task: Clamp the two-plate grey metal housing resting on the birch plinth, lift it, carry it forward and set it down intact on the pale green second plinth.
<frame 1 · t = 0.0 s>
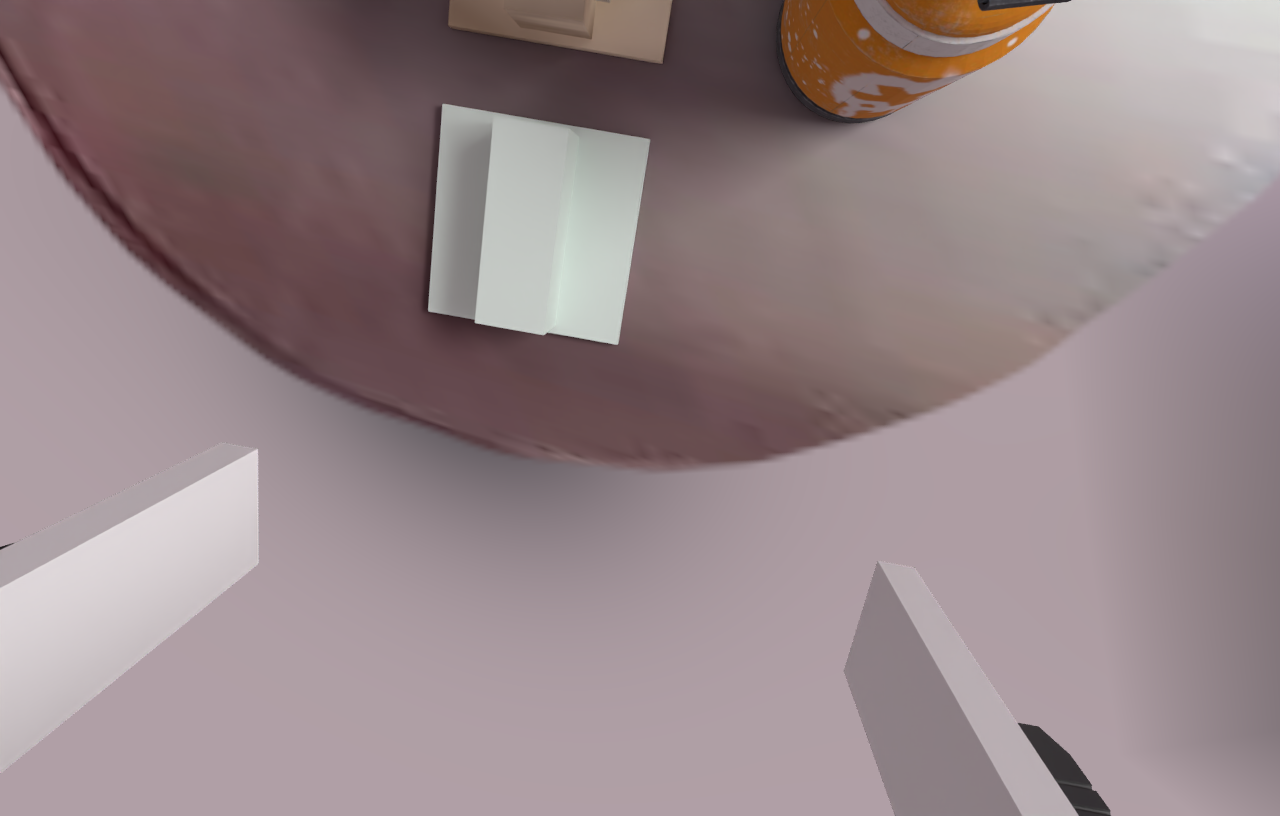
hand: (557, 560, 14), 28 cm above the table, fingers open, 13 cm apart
stand b: (535, 229, 39), on the table
canister: (857, 14, 35), on the table
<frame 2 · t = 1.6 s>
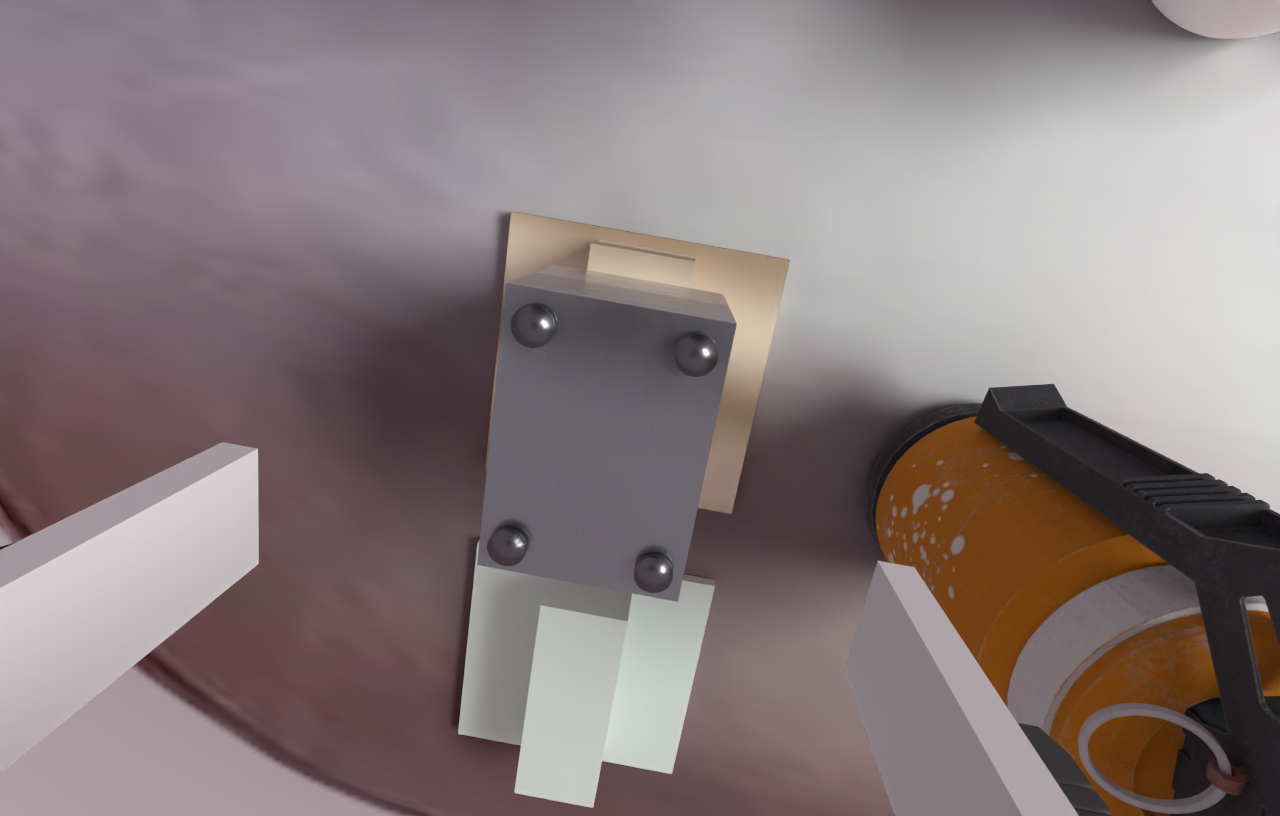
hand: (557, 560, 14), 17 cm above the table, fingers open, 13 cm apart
stand b: (581, 656, 34), on the table
housing: (620, 391, 26), point 4 cm above the table, touching stand a
canister: (958, 468, 30), on the table
stand a: (628, 368, 30), on the table
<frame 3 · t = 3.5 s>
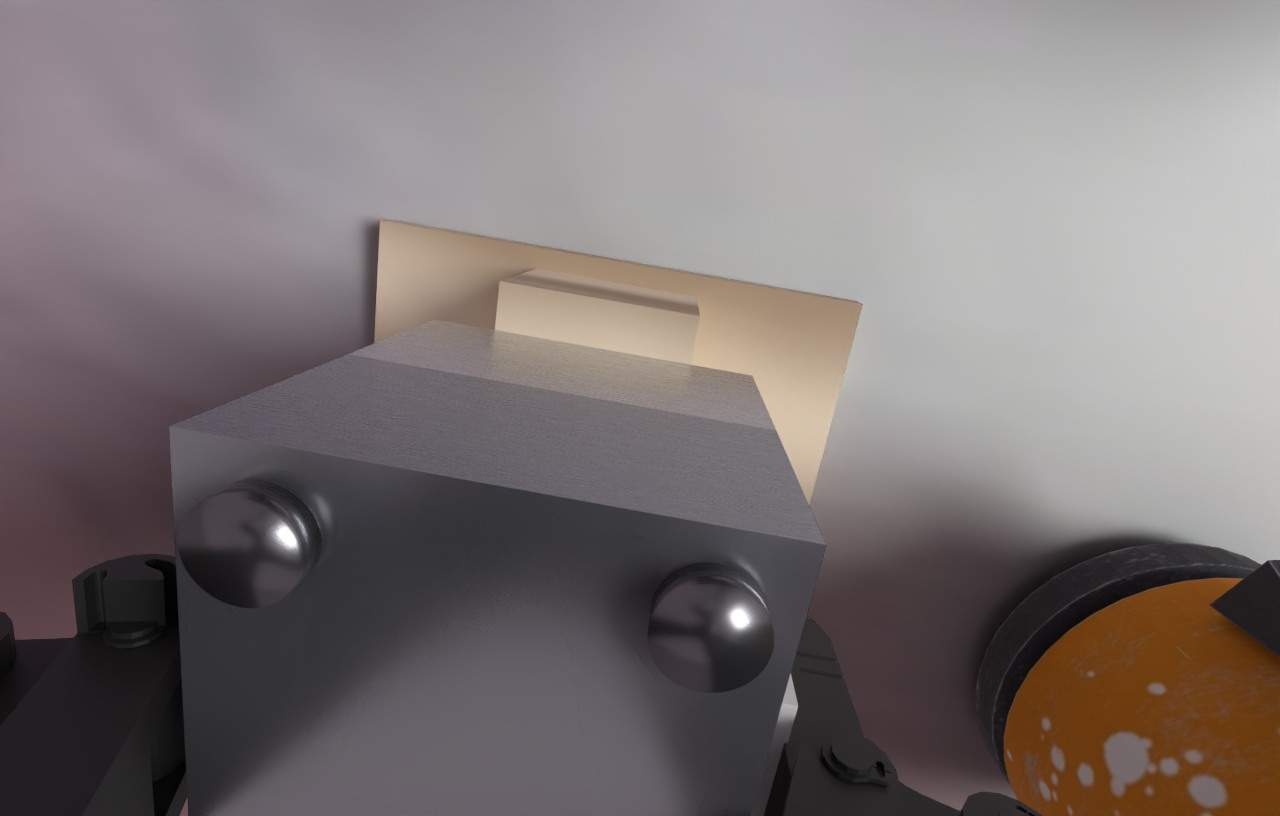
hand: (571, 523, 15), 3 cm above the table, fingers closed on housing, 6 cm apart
housing: (563, 545, 14), point 4 cm above the table, touching gripper, stand a
canister: (1125, 634, 19), on the table
stand a: (588, 476, 18), on the table
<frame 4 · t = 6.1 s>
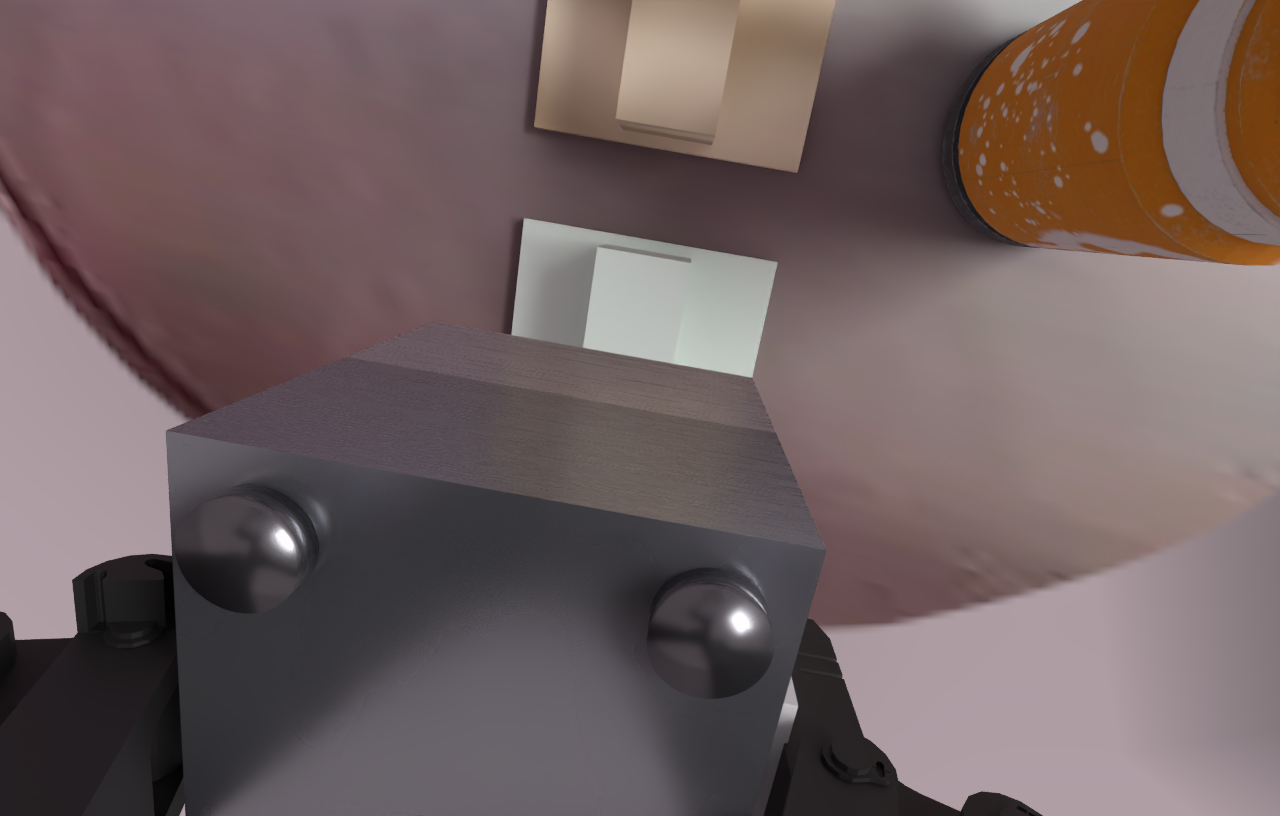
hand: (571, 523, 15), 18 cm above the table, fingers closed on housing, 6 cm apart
stand b: (630, 361, 32), on the table
housing: (563, 547, 14), point 19 cm above the table, touching gripper
canister: (1041, 116, 28), on the table
stand a: (690, 3, 28), on the table
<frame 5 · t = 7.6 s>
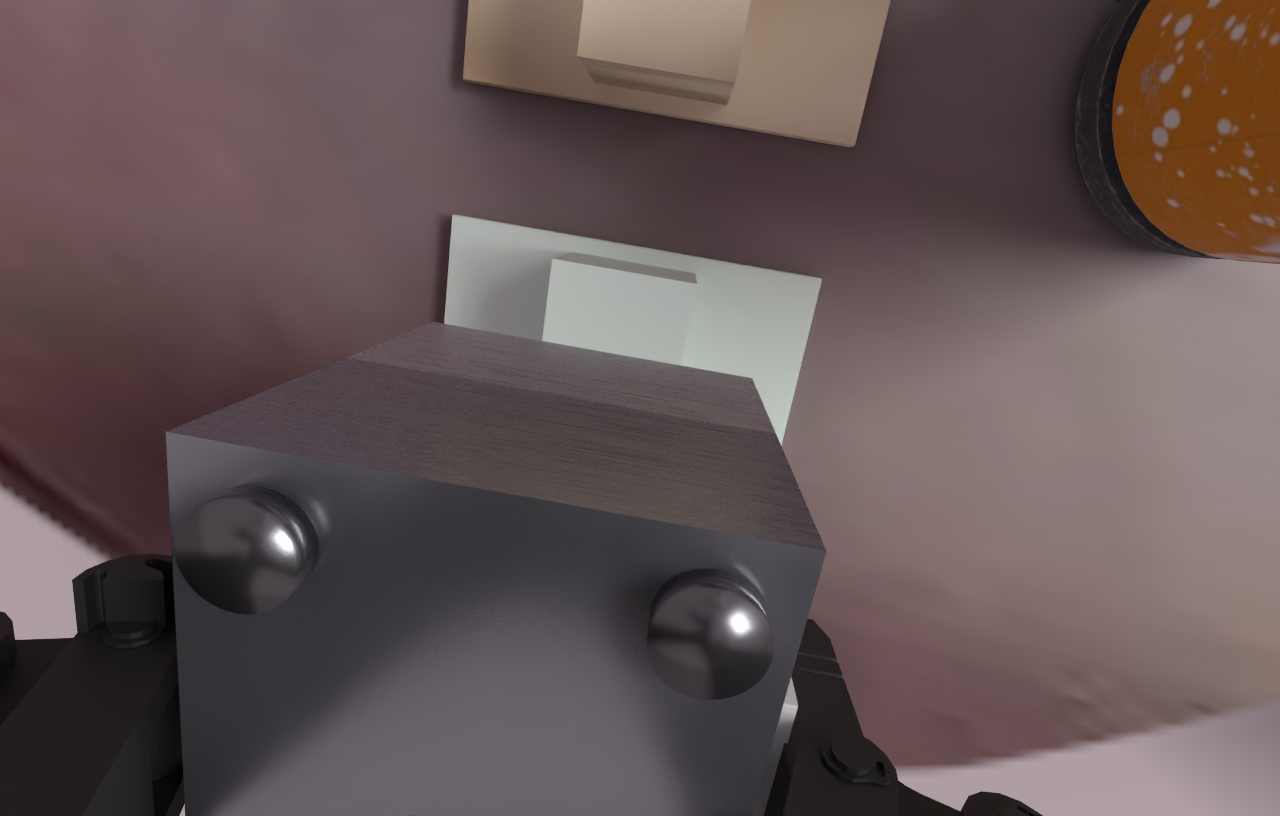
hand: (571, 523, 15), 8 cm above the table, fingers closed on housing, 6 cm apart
stand b: (610, 417, 23), on the table
housing: (562, 547, 14), point 9 cm above the table, touching gripper
canister: (1223, 60, 19), on the table
when the fingers open (4 cm above the table, at t = 8.8 s): housing drops 1 cm, resting on stand b.
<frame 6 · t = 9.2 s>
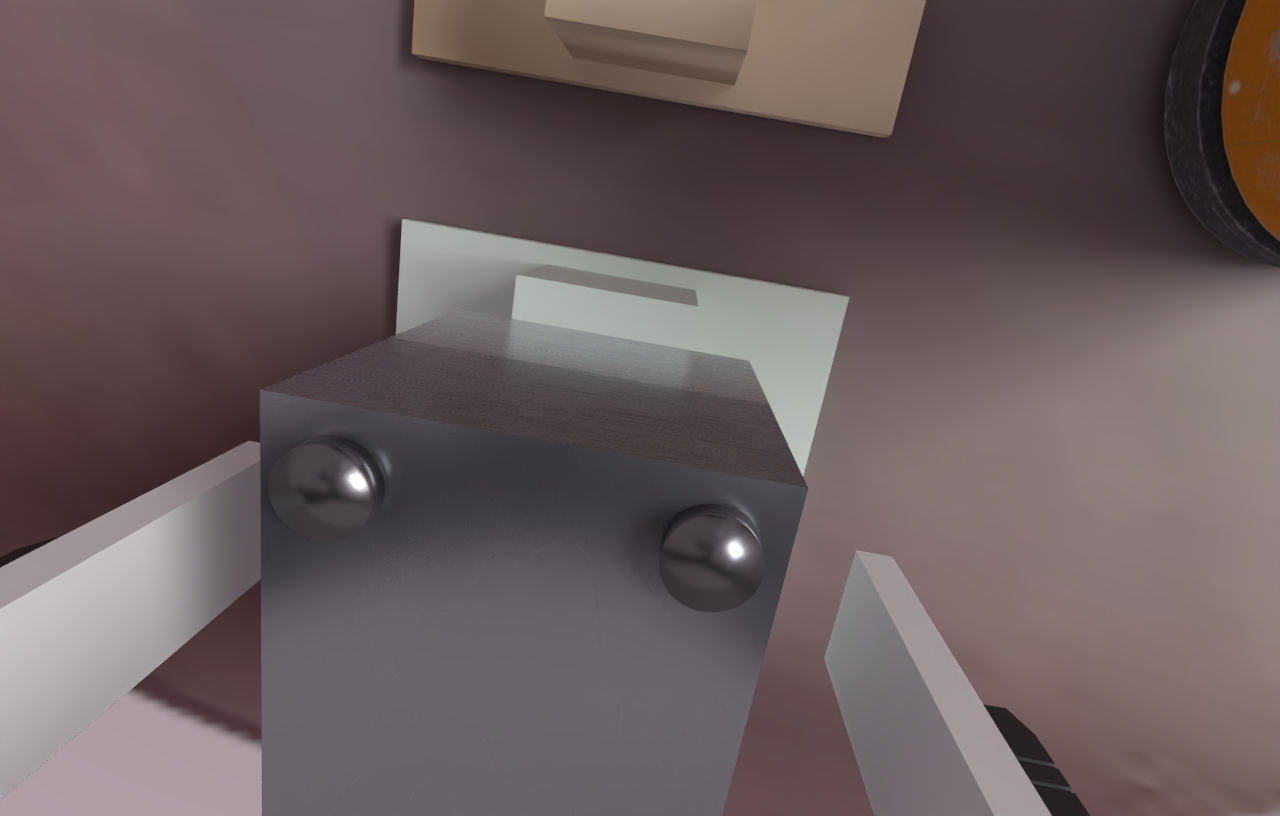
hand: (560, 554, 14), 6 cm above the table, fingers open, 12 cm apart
stand b: (595, 459, 19), on the table
housing: (575, 517, 16), point 4 cm above the table, touching stand b
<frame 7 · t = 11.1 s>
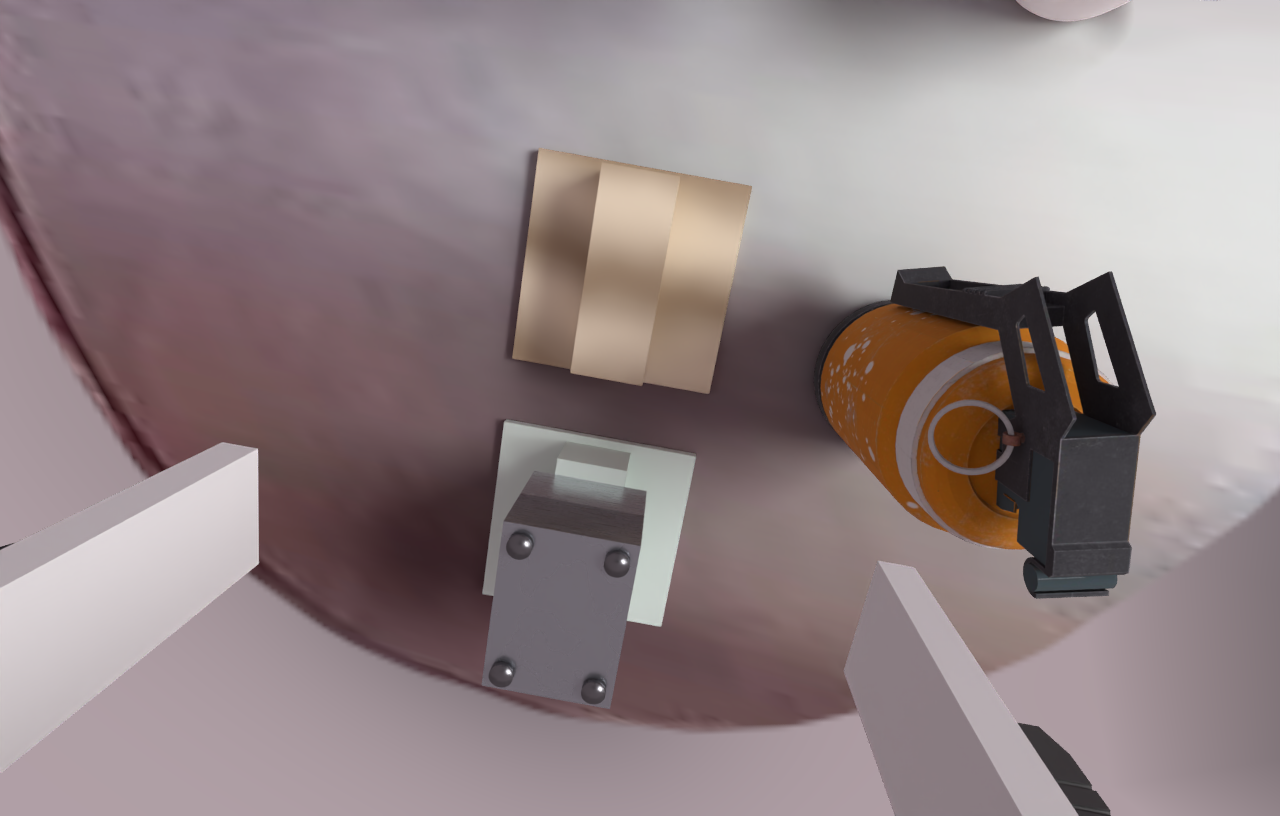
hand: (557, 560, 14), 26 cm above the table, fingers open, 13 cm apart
stand b: (586, 523, 42), on the table
housing: (578, 551, 38), point 4 cm above the table, touching stand b
canister: (886, 356, 38), on the table
stand a: (627, 275, 38), on the table
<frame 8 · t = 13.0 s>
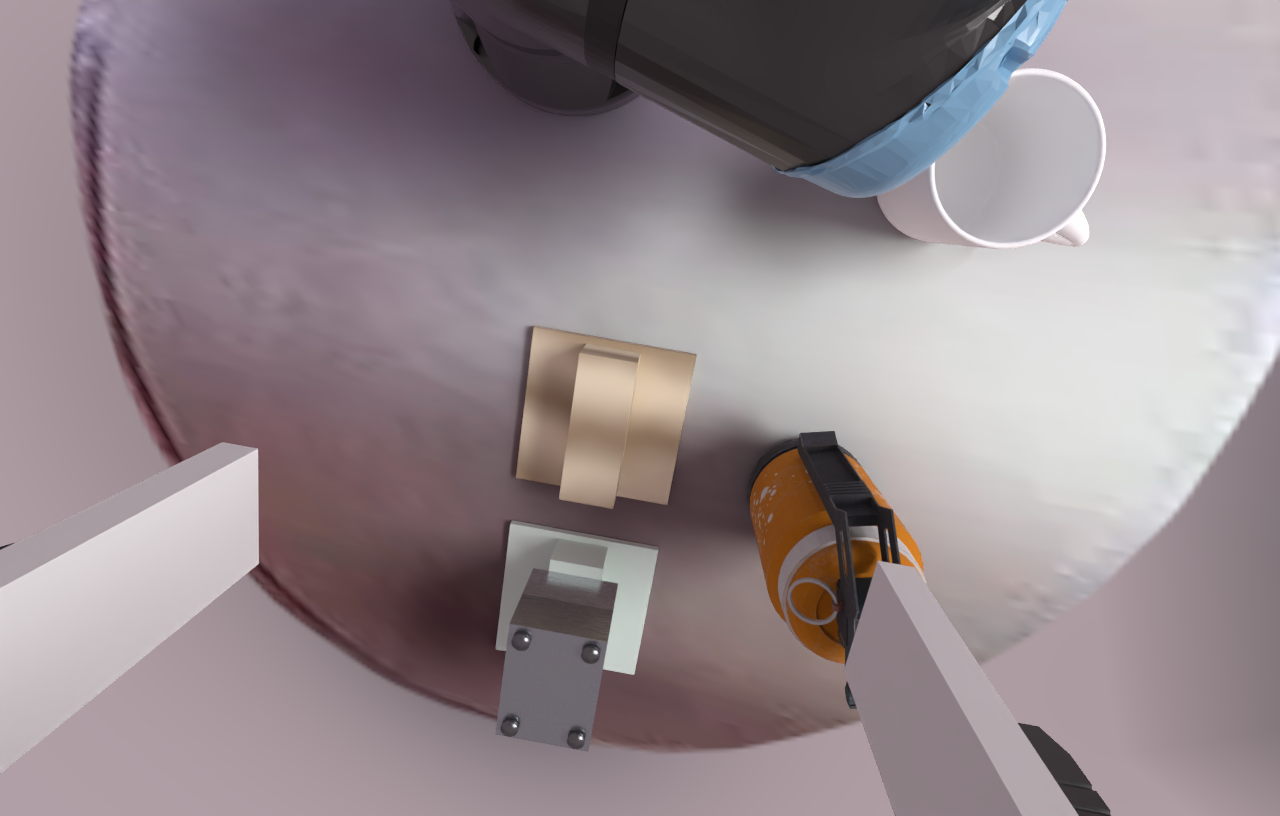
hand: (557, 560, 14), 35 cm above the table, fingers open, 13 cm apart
stand b: (575, 597, 54), on the table
housing: (567, 626, 50), point 4 cm above the table, touching stand b
canister: (804, 476, 50), on the table
mug: (955, 190, 43), on the table
stand a: (603, 416, 49), on the table
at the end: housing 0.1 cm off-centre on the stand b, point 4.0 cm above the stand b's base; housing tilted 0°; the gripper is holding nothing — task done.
